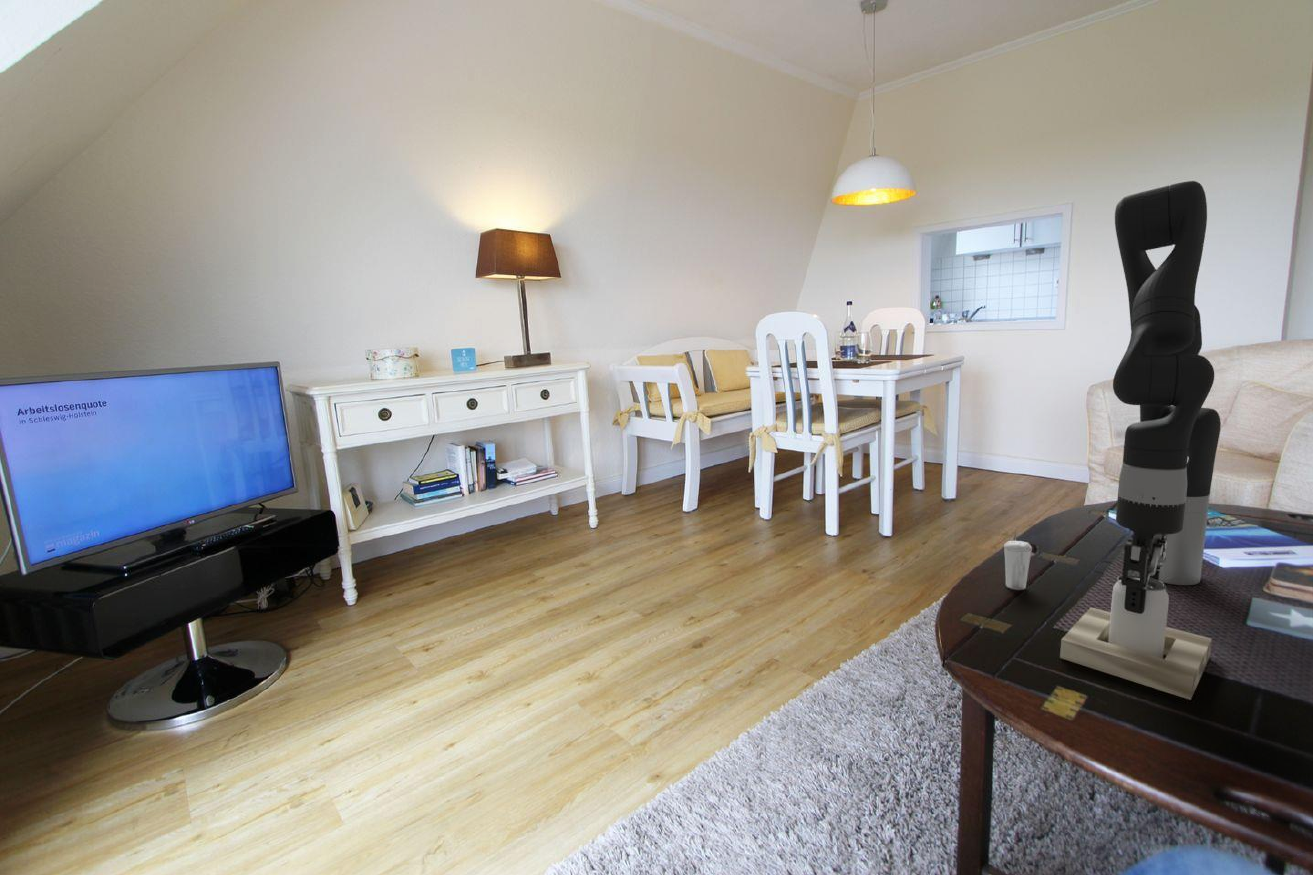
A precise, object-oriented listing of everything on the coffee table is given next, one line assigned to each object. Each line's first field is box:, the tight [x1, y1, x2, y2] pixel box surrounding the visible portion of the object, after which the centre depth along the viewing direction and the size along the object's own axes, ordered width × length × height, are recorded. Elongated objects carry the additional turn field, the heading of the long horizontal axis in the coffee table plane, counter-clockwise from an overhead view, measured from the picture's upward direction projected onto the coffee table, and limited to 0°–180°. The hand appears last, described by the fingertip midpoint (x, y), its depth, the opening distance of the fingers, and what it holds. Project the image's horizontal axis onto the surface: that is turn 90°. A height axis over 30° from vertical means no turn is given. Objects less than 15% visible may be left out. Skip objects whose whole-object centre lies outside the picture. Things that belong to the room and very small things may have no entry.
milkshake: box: [1003, 531, 1033, 591], centre depth 116 cm, size 4×5×10 cm
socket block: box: [1059, 607, 1213, 701], centre depth 90 cm, size 15×15×3 cm
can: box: [1107, 574, 1170, 659], centre depth 90 cm, size 6×6×12 cm
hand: (1141, 601), depth 89 cm, fingers open, 8 cm apart
